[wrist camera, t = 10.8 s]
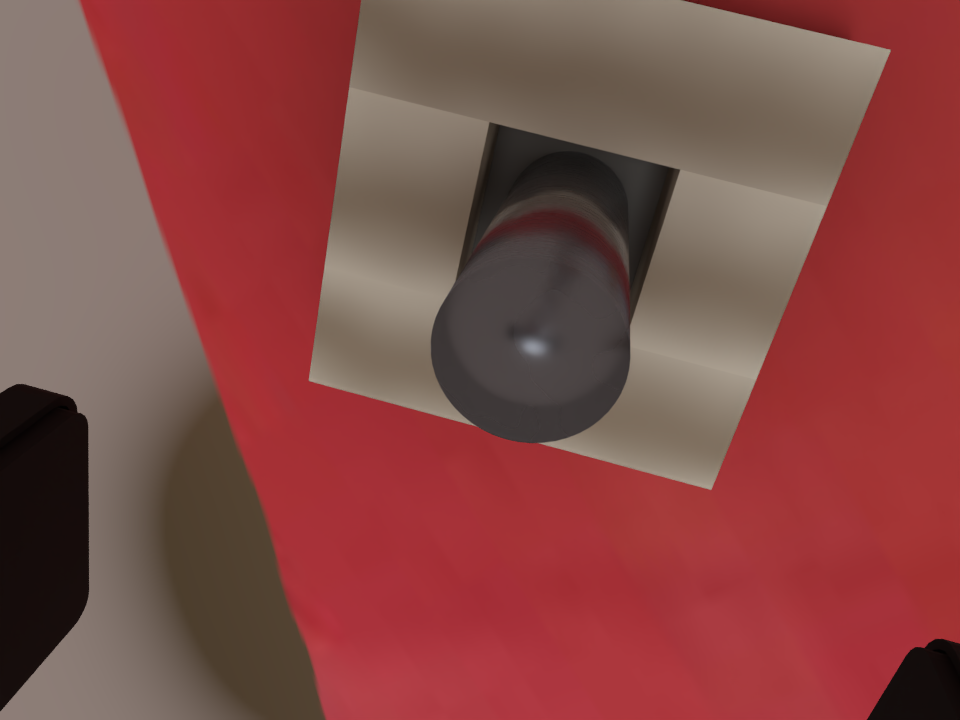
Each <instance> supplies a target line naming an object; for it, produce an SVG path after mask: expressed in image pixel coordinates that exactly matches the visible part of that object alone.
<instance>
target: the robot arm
mask: <svg viewBox="0 0 960 720" xmlns="http://www.w3.org/2000/svg"><path fill="white" fill-rule="evenodd" d="M88 496H89V495H88V422H87V419H86V417H85V416H84V415H83V414H81V413H77V406H76V404H75V402H74V400H73V399H71V398H70V397H68V396H64V395H61V394H57V393H54V392H50V391H47V390H43V389H39V388H36V387H32V386H28V385H24V384H16V385H14V386H12V387H10V388H8V389H6V390H5V391H3V392H1V393H0V711H1V710H2V709H3V707H5V705H6V704H7V703H8V702H9V701H10V700H11V698H12V697H13V696H14V695H15V694H16V693H17V691H18V690H19V689H20V688H21V687H22V686H23V684H24V683H25V682H26V681H27V680H28V679H29V677H30V676H31V675H32V674H33V673H34V672H35V671H36V669H37V668H38V667H39V666H40V665H41V664H42V662H43V661H44V660H45V659H46V658H47V657H48V655H49V654H50V653H51V652H52V651H53V650H54V649H55V647H56V646H57V645H58V644H59V643H60V642H61V640H62V639H63V638H64V637H65V636H66V635H67V634H68V632H69V631H70V630H71V629H72V628H73V627H74V625H75V624H76V623H77V621H78V620H79V618H80V616H81V615H82V612H83V611H84V608H85V606H86V603H87V599H88V594H89V508H88V507H89V502H88V501H89V497H88ZM867 720H960V644H959V643H955V642H952V641H948V640H944V639H935V640H933V641H932V642H930V643H929V644H928V645H927V646H926V647H925V648H922V647H915V648H914V649H912V650H910V652H909V653H908V654H907V655H906V657H905V658H904V660H903V662H902V663H901V665H900V667H899V668H898V670H897V672H896V673H895V675H894V676H893V678H892V680H891V681H890V683H889V685H888V686H887V688H886V689H885V691H884V693H883V694H882V696H881V698H880V699H879V701H878V703H877V704H876V706H875V707H874V709H873V711H872V712H871V714H870V716H869V717H868V719H867Z"/></svg>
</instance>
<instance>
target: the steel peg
mask: <svg viewBox="0 0 960 720" xmlns="http://www.w3.org/2000/svg"><path fill="white" fill-rule="evenodd" d="M431 359H432V365H433V369H434V372H435V376H436V378H437V380H438V383H439V385H440V387H441V389H442V391H443V392H444V394H445V396H446V397H447V399H448V400H449V401H450V403H451V404H452V405H453V406H454V408H455V409H456V410H457V411H458V412H459V413H460V414H461V415H462V416H464V417H465V418H466V419H467V420H469V421H470V422H471V423H473V424H474V425H476V426H477V427H479V428H481V429H482V430H484V431H486V432H488V433H491V434H493V435H495V436H498V437H501V438H504V439H508V440H512V441H517V442H526V443H545V442H552V441H558V440H562V439H565V438H569V437H571V436H574V435H576V434H579V433H581V432H582V431H584V430H586V429H588V428H590V427H591V426H592V425H594V424H595V423H597V422H598V421H599V420H600V419H601V418H602V417H604V416H605V415H606V414H607V413H608V412H609V410H610V409H611V408H612V407H613V405H614V404H615V403H616V401H617V399H618V398H619V396H620V394H621V393H622V390H623V388H624V386H625V383H626V380H627V376H628V372H629V367H630V290H629V221H628V201H627V196H626V193H625V190H624V187H623V185H622V183H621V181H620V180H619V178H618V176H617V175H616V174H615V173H614V171H613V170H612V169H611V168H610V167H609V166H607V165H606V164H605V163H604V162H602V161H601V160H599V159H597V158H595V157H593V156H591V155H588V154H585V153H581V152H575V151H562V152H556V153H551V154H548V155H546V156H543V157H541V158H539V159H537V160H536V161H534V162H533V163H531V164H530V165H529V166H528V167H527V168H526V169H525V170H524V171H523V172H522V173H521V174H520V175H519V177H518V178H517V180H516V181H515V183H514V185H513V186H512V188H511V190H510V191H509V193H508V195H507V196H506V198H505V200H504V201H503V203H502V205H501V206H500V208H499V210H498V211H497V213H496V215H495V216H494V218H493V220H492V221H491V223H490V225H489V227H488V228H487V230H486V232H485V233H484V235H483V237H482V238H481V240H480V242H479V243H478V245H477V247H476V248H475V250H474V252H473V253H472V255H471V257H470V258H469V260H468V262H467V263H466V265H465V267H464V268H463V270H462V272H461V273H460V275H459V277H458V278H457V280H456V282H455V283H454V285H453V287H452V288H451V290H450V292H449V293H448V295H447V297H446V298H445V300H444V302H443V303H442V305H441V307H440V309H439V311H438V313H437V316H436V318H435V321H434V325H433V328H432V334H431Z"/></svg>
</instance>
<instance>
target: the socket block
mask: <svg viewBox="0 0 960 720" xmlns="http://www.w3.org/2000/svg"><path fill="white" fill-rule="evenodd" d="M890 51H891V50H889V49H884V48H880V47H876V46H872V45H868V44H863V43H859V42H855V41H851V40H846V39H842V38H838V37H834V36H830V35H825V34H821V33H817V32H813V31H809V30H804V29H800V28H796V27H792V26H788V25H783V24H779V23H775V22H771V21H767V20H762V19H758V18H754V17H750V16H746V15H741V14H737V13H733V12H729V11H725V10H720V9H716V8H712V7H708V6H704V5H699V4H695V3H691V2H687V1H682V0H361V6H360V14H359V21H358V28H357V35H356V43H355V50H354V57H353V64H352V72H351V79H350V86H349V93H348V101H347V108H346V115H345V122H344V130H343V137H342V144H341V151H340V159H339V166H338V173H337V180H336V187H335V195H334V202H333V209H332V216H331V224H330V231H329V238H328V245H327V253H326V260H325V267H324V274H323V282H322V289H321V296H320V303H319V311H318V318H317V325H316V332H315V340H314V347H313V354H312V361H311V369H310V376H309V381H311V382H315V383H318V384H322V385H326V386H329V387H333V388H337V389H340V390H344V391H348V392H352V393H355V394H359V395H363V396H366V397H370V398H374V399H377V400H381V401H385V402H389V403H392V404H396V405H400V406H403V407H407V408H411V409H414V410H418V411H422V412H425V413H429V414H433V415H437V416H440V417H444V418H448V419H451V420H455V421H459V422H462V423H466V424H470V425H473V426H476V425H474V424H473V423H471V422H470V421H469V420H467V419H466V418H465V417H464V416H462V415H461V414H460V413H459V412H458V411H457V410H456V409H455V408H454V406H453V405H452V404H451V403H450V401H449V400H448V399H447V397H446V396H445V394H444V392H443V391H442V389H441V387H440V385H439V383H438V380H437V378H436V376H435V372H434V369H433V365H432V359H431V334H432V328H433V325H434V321H435V318H436V316H437V313H438V311H439V309H440V307H441V305H442V303H443V302H444V300H445V298H446V297H447V295H448V293H449V292H450V290H451V288H452V287H453V285H454V283H455V282H456V280H457V278H458V277H459V275H460V273H461V272H462V270H463V268H464V267H465V265H466V263H467V262H468V260H469V258H470V257H471V255H472V253H473V252H474V250H475V248H476V247H477V245H478V243H479V242H480V240H481V238H482V237H483V235H484V233H485V232H486V230H487V228H488V227H489V225H490V223H491V221H492V220H493V218H494V216H495V215H496V213H497V211H498V210H499V208H500V206H501V205H502V203H503V201H504V200H505V198H506V196H507V195H508V193H509V191H510V190H511V188H512V186H513V185H514V183H515V181H516V180H517V178H518V177H519V175H520V174H521V173H522V172H523V171H524V170H525V169H526V168H527V167H528V166H529V165H530V164H531V163H533V162H534V161H536V160H537V159H539V158H541V157H543V156H546V155H548V154H551V153H556V152H562V151H575V152H581V153H585V154H588V155H591V156H593V157H595V158H597V159H599V160H601V161H602V162H604V163H605V164H606V165H607V166H609V167H610V168H611V169H612V170H613V171H614V173H615V174H616V175H617V176H618V178H619V180H620V181H621V183H622V185H623V187H624V190H625V193H626V196H627V201H628V221H629V290H630V367H629V372H628V376H627V380H626V383H625V386H624V388H623V390H622V393H621V394H620V396H619V398H618V399H617V401H616V403H615V404H614V405H613V407H612V408H611V409H610V410H609V412H608V413H607V414H606V415H605V416H604V417H602V418H601V419H600V420H599V421H598V422H597V423H595V424H594V425H592V426H591V427H590V428H588V429H586V430H584V431H582V432H581V433H579V434H576V435H574V436H571V437H569V438H565V439H562V440H558V441H552V442H545V443H540V444H544V445H547V446H551V447H555V448H558V449H562V450H566V451H570V452H573V453H577V454H581V455H584V456H588V457H592V458H595V459H599V460H603V461H606V462H610V463H614V464H618V465H621V466H625V467H629V468H632V469H636V470H640V471H643V472H647V473H651V474H655V475H658V476H662V477H666V478H669V479H673V480H677V481H680V482H684V483H688V484H691V485H695V486H699V487H703V488H706V489H710V490H711V489H712V487H713V484H714V482H715V479H716V477H717V474H718V472H719V470H720V467H721V465H722V462H723V460H724V457H725V455H726V452H727V450H728V448H729V445H730V443H731V440H732V438H733V435H734V433H735V430H736V428H737V425H738V423H739V421H740V418H741V416H742V413H743V411H744V408H745V406H746V403H747V401H748V399H749V396H750V394H751V391H752V389H753V386H754V384H755V381H756V379H757V377H758V374H759V372H760V369H761V367H762V364H763V362H764V359H765V357H766V354H767V352H768V350H769V347H770V345H771V342H772V340H773V337H774V335H775V332H776V330H777V328H778V325H779V323H780V320H781V318H782V315H783V313H784V310H785V308H786V306H787V303H788V301H789V298H790V296H791V293H792V291H793V288H794V286H795V284H796V281H797V279H798V276H799V274H800V271H801V269H802V266H803V264H804V261H805V259H806V257H807V254H808V252H809V249H810V247H811V244H812V242H813V239H814V237H815V235H816V232H817V230H818V227H819V225H820V222H821V220H822V217H823V215H824V213H825V210H826V208H827V205H828V203H829V200H830V198H831V195H832V193H833V190H834V188H835V186H836V183H837V181H838V178H839V176H840V173H841V171H842V168H843V166H844V164H845V161H846V159H847V156H848V154H849V151H850V149H851V146H852V144H853V142H854V139H855V137H856V134H857V132H858V129H859V127H860V124H861V122H862V120H863V117H864V115H865V112H866V110H867V107H868V105H869V102H870V100H871V97H872V95H873V93H874V90H875V88H876V85H877V83H878V80H879V78H880V75H881V73H882V71H883V68H884V66H885V63H886V61H887V58H888V56H889V53H890Z"/></svg>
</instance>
